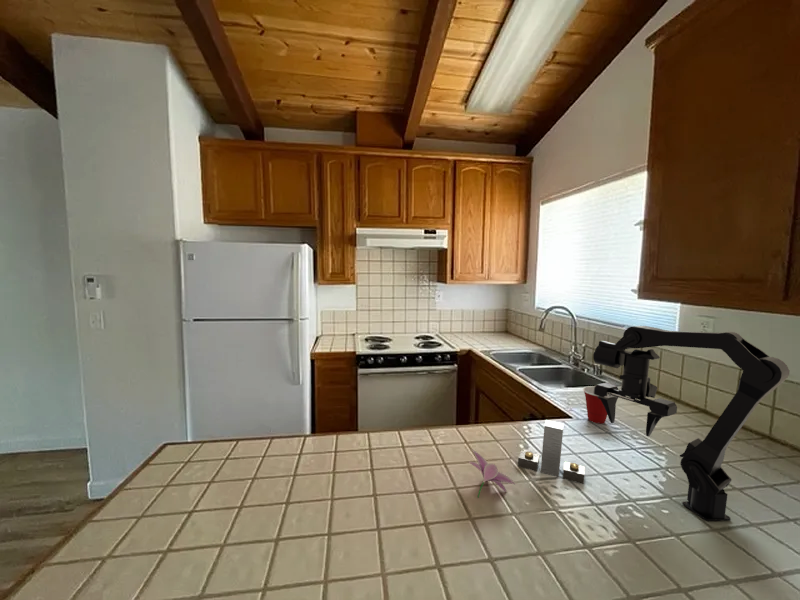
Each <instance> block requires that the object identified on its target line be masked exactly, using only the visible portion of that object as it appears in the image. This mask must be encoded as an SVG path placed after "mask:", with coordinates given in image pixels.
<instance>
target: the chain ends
mask: <svg viewBox="0 0 800 600" xmlns="http://www.w3.org/2000/svg"><path fill="white" fill-rule="evenodd" d="M540 457H541V455H540V454H536V453H533V452H531V451H526V450H520V452H519V455H518V460H517V467H519V468H523V469H527V470H530V471H534V472H537V471H538V468H539V465H540ZM585 471H586V466H585V465H581V464H578V463H574V462H569V461H564V463H563V471H562V479H563V480H567V481H570V482H574V483H576V484H577V483H578V484H582V485H584V484H585V473H586V472H585Z"/></svg>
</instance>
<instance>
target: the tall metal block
mask: <svg viewBox="0 0 800 600" xmlns="http://www.w3.org/2000/svg"><path fill="white" fill-rule="evenodd" d="M563 434H564V423H562V422H558V421H553V420H548V419H545V423H544V428H543V438H542V439H543V440H542V448H541V449H542V450H541V460H540V462H541V463H540V473H543V474H545V475H546V474H547V475H549V476H554V477H556V478H557V477H559V476H560V469H561V467H560V466H561V460H562V459H561V458H562V457H561V456H562V446H563V445H562V444H563Z"/></svg>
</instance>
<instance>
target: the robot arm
mask: <svg viewBox="0 0 800 600" xmlns="http://www.w3.org/2000/svg"><path fill="white" fill-rule="evenodd" d="M664 346H665V347H677V348H678V347H680V348H681V347H682V348H694V349H696V348H698V349H712V350H713V349H714V350H721V351H722V352H724V353H725V354H726V355H727V356H728V357H729V359H730V360H731V361H733V363H734V364H735V365H736V366H737V367H739V368H740V369H741V370H742V373H741V375H740V378H739V381H738V382H739V383H738V386H737V391H736V393H735V394H734V395H733V397H732V399H731V400H730V401H729V403H728V405H727V406H726V408H725V409H724V410H723V411H722V413H721V414H720V416H719V418H718V419H717V421H716V422H715V423H714V424H713V426H712V427H711V429H710V431H708V433H707V435H706V436H705V437H704V438H703V440H702V439H700V438H699V437H697V438H695V439H694V440H691V441H690V442H688V444H687V445H686V448H685V450H684V452H683V453H681V454H680V455H679V457H680V458H681V460H680V464H679V465H680V467H681V469H682V471H683V473H684V474H685V475H686V479H687V481H688V490H687V498H686V500H685V501H683V500H682V502H681V504H682V505H683V506H685V507H686V508H687V509H689V510H690V511H692V512H693V513H694V514H696V515H697V516H698V517H700V518H702V519H703V520H704V521H707V522H716V521H717V522H718V521H731V517H730V516H729V515H728V514H726V511H727V503H728V502H727V501H728V495H729V494H728V493H727V492H725V490H724V489H725V488H726V487H729V485H730V483H731V482H732V478H731V477H730V476H729V475H728V474H727V472H726V471H725V469H723V468H722V464H723V461H724V459H725V455H726V450H727V448H728V446H729V445H730V443H732V441H733V439H734V438H736V436H737V434H738V432H739V431H740V430H741V428H742V427H743V426H744V424H745V423H746V422H747V420H748V419H749V417H750V416H751V415H752V413H753V412H754V411H755V409H756V408H757V406H758V405H759V404H760V402H761V401H762V400H763V399H765V398H766V397H767V396H768V395H769V394H771V393H772V392H774V390H775V389H777V388H778V387H779V386H780V385H781V384H783V383H784V382H785V381H786V380H787V379H788V378H789V376H790V369H789V367H788V365H787V363H786V362H784V361H783V360H781V359H780V358H778V357H774V356H770V355H769V354H767V353H766V352H764V351H763V350H762V349H760V348H759V347H757V346H755V345H753V344H752V343H751V342H749V341H747V340H746V339H745V338H744V337H742V335H740V334H739V333H737V332H735V331H726V332H715V331H713V332H712V331H711V332H710V331H683V330H682V331H680V330H679V331H678V330H665V329H662V328H660V327H659V328H658V327H654V326H647V325H637V326H629V327H627V328H626V329H625V330H624V332H623V335H622V337H621V338H620V339H619V340H617V342H616V343H614V342H610V341H606V340H599V341H598V345H597V346H596V348H595V350H594V352H593V354H592V355H593V357H592V358H593V361H594V363H595V364H597V365H601V366H606V367H610V368H614V369H619V368H620V367H621V366H623V368H622V369H623V370H622V374H619V380H621V387H620V389H619V387H618V386H617V385H615V384H610V383H607V382H604V383H603V382H602V383H598V384H595V385H594V386H595V387H594V393H593V394H595V395H598V399H600V400H601V402H602V404H603V405H604V407H605V410H606V412H607V417H608V420H609V422H610V424H615V420H616V407H617V406H616V405H617V401H618V399H619V398H620V399H622V400H626V401H630V402H633V403H635V404H639V405H643V406H646V407H648V409H649V410H650V411H648V412H647V415H646V427H645V435H646V437H650V436H651V435H652V432H653V431H654V429H655V428H656V426H657V424H658V423H659V422H660V420H661V419H662V418H666V417H670V416H674V415H676V414H677V411H678V405H677V404H676V402H675V401H672V400H667V399H664V398H661V397H659V398H656V399H655V397H656V395H657V390H658V386H656V385H654V384H652V383H651V377H650V376H649V370H650V362H651V361H650V360H654V361H655V360H659V359H661V358H660V355H659V354H657V353H656V352H655V351H654V349H653V348H655V347H664ZM643 348H645V349H647V348H652V349H648V350H642V349H643ZM629 349H633V350H632V351H628V350H629ZM650 398H651V399H650ZM652 398H653V399H652Z"/></svg>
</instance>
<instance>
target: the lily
mask: <svg viewBox="0 0 800 600" xmlns="http://www.w3.org/2000/svg"><path fill="white" fill-rule="evenodd" d="M471 451H472V452H473V455H474V456H475V458H476V461H477V462H476V461H471V460H470V461H468V463H469V464H471V466H474V467H475V468H476V469H478V470H479V471H480V472H481V474H482V477H483V481H482V483H481V485H480V488H479V491H478V495H477V498H480V494H481V491H482V488H483V487H484V484H485V482H493V483H495V484H496V485H497V486H498V487H499V488H500V489H502V490H503V492H504V493H507V489H506V487H505V485H504V484H503V483H507V484H512V485H515V486H517V483H516V482H515V481H514V480H512V478H510V477H509V476H508V475H506V474H504V473H503V472H500V471H499V470H498V467H497V465H496V464H495V463H488V461H487V460H486V459H485V458H484V456H482V455H481V454H480V453H479V452H477V451H476V450H475V449H471Z"/></svg>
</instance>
